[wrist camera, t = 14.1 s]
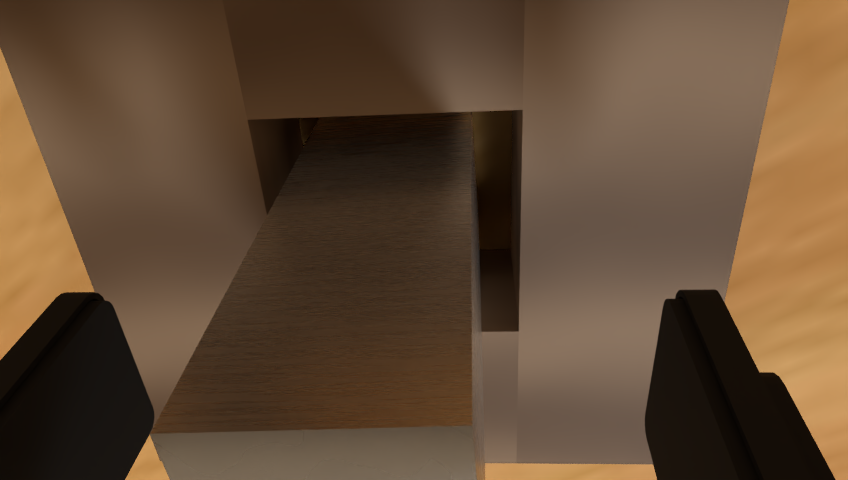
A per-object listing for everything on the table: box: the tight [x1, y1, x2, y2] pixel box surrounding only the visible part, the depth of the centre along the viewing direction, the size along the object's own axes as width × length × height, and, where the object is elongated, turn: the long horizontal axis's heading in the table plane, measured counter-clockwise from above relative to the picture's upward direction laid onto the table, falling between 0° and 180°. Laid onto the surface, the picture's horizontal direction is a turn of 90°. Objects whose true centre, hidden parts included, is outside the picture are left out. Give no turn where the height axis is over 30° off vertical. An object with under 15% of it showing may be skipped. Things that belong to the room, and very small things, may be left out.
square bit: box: [150, 112, 485, 480], centre depth 14 cm, size 4×4×12 cm
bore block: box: [0, 0, 789, 464], centre depth 18 cm, size 16×16×4 cm
